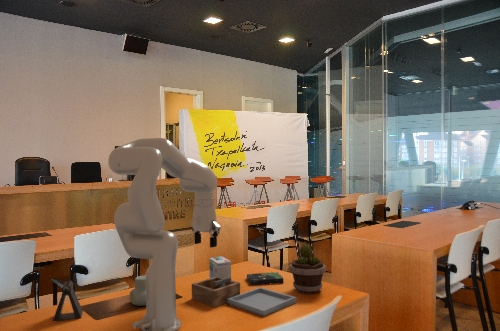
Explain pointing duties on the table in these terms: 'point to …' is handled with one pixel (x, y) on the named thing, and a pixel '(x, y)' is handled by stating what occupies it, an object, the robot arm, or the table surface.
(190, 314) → the table surface
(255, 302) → the tray
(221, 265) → the light bulb box
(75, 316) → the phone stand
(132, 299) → the air freshener
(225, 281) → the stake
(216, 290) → the frame
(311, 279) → the flowerpot
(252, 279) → the disk drive
